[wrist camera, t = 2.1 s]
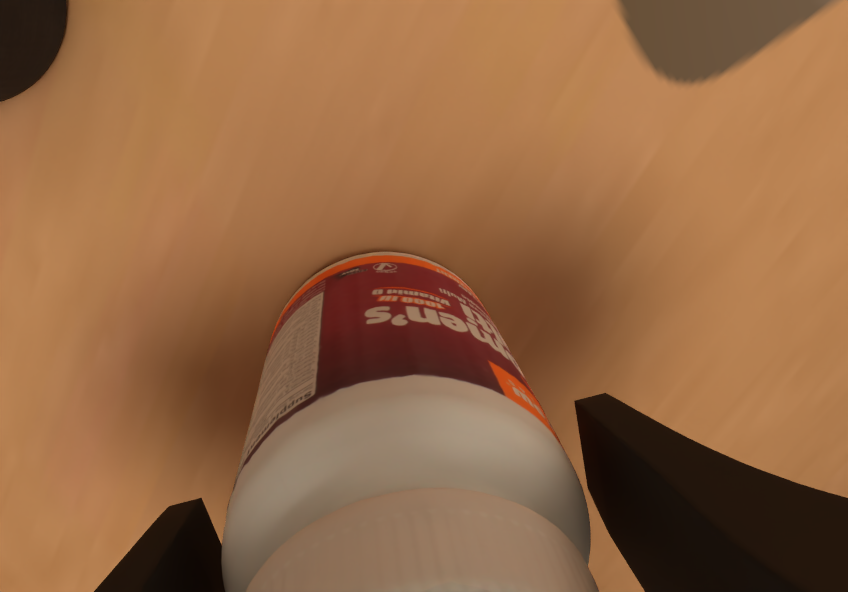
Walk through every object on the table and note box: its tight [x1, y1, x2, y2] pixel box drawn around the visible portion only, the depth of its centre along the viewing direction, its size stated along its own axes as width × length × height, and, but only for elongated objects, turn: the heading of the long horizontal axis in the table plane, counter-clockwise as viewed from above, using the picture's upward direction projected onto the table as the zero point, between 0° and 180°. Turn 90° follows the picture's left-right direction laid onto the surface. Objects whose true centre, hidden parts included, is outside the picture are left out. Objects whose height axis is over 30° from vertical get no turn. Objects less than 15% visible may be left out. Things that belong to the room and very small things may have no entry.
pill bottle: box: [221, 252, 599, 592], centre depth 13 cm, size 6×6×11 cm
